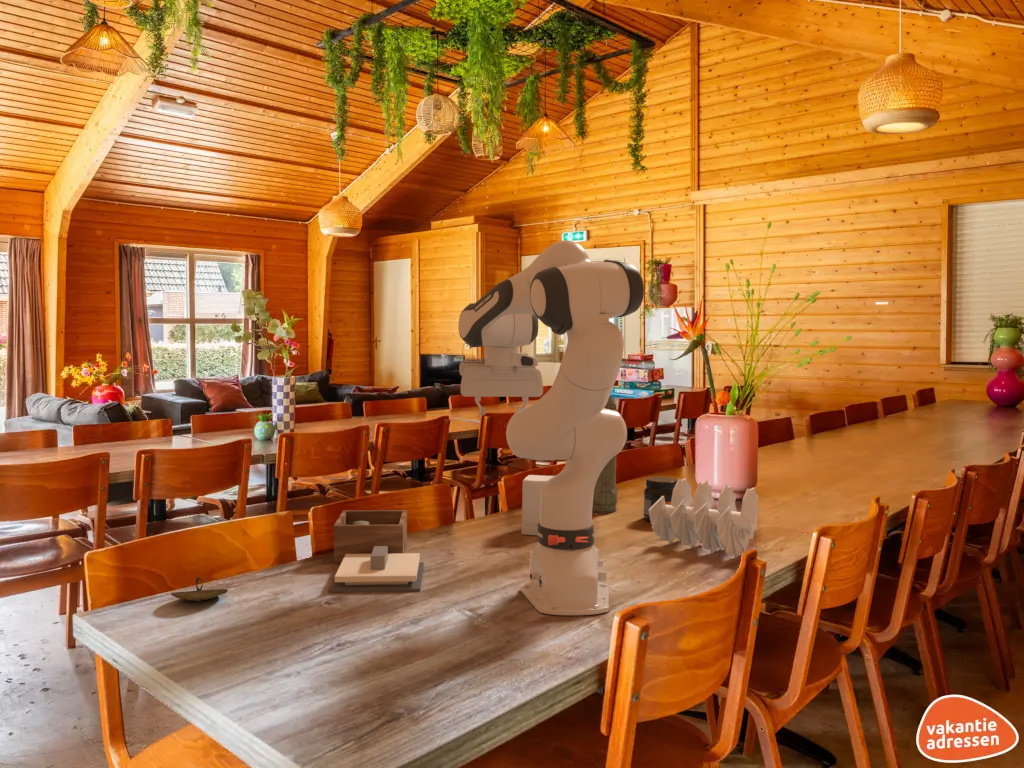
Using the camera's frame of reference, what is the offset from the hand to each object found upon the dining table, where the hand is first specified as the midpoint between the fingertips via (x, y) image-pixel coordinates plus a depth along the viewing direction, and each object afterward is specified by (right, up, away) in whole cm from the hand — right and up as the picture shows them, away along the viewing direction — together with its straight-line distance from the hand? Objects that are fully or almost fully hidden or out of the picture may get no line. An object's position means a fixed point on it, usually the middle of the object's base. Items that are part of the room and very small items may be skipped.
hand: (501, 415), depth 196 cm
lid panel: (-27, -35, -19) cm, 48 cm away
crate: (-32, -34, -1) cm, 46 cm away
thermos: (+30, -31, +50) cm, 66 cm away
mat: (-27, -35, -20) cm, 48 cm away
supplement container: (+46, -32, +38) cm, 68 cm away
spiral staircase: (+52, -35, +6) cm, 62 cm away
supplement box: (+10, -33, +22) cm, 41 cm away
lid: (-60, -36, -36) cm, 79 cm away
